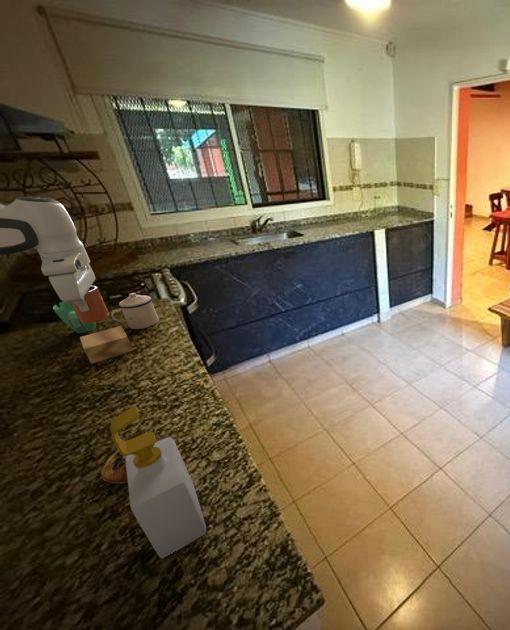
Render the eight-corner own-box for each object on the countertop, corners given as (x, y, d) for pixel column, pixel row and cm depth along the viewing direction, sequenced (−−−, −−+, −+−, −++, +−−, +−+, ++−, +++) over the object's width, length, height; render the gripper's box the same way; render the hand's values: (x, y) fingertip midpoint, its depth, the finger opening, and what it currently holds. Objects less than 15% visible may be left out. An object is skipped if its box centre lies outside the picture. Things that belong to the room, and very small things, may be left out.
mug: (67, 328, 118) (54, 302, 114) (104, 320, 124) (92, 295, 119) (64, 346, 108) (49, 317, 104) (104, 336, 114) (91, 309, 109)
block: (91, 363, 100) (83, 349, 97) (86, 351, 106) (79, 337, 103) (133, 350, 106) (127, 336, 104) (127, 339, 112) (121, 325, 110)
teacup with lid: (158, 315, 127) (147, 286, 122) (161, 324, 121) (149, 294, 116) (117, 325, 121) (104, 294, 115) (117, 335, 114) (103, 303, 109)
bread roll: (172, 468, 67) (159, 451, 65) (103, 501, 63) (86, 483, 60) (174, 433, 76) (162, 417, 73) (113, 460, 71) (99, 443, 69)
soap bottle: (208, 533, 56) (160, 427, 46) (160, 562, 52) (95, 453, 42) (193, 483, 64) (149, 384, 54) (150, 505, 61) (94, 402, 50)
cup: (77, 325, 97) (62, 296, 93) (83, 316, 102) (69, 288, 98) (107, 319, 100) (94, 291, 96) (111, 311, 105) (99, 284, 101)
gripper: (61, 251, 99) (82, 295, 105) (38, 271, 84) (64, 321, 90) (89, 248, 102) (108, 291, 108) (72, 267, 87) (95, 316, 93)
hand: (88, 305), depth 99 cm, fingers closed on cup, 6 cm apart
